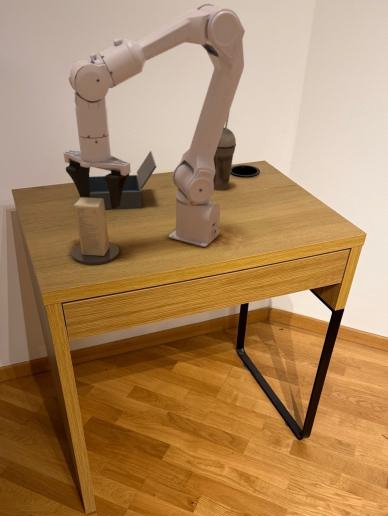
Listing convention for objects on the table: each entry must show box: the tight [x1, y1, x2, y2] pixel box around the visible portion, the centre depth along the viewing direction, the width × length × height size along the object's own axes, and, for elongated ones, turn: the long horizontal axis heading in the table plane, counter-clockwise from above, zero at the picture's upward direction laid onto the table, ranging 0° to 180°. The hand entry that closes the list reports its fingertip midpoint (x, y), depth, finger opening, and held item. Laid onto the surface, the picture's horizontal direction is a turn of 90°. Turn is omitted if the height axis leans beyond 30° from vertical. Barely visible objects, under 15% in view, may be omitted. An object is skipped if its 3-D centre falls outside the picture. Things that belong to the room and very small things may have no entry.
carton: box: [89, 174, 143, 211], centre depth 127 cm, size 14×12×4 cm
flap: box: [136, 150, 157, 190], centre depth 125 cm, size 7×12×1 cm
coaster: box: [71, 241, 120, 266], centre depth 106 cm, size 10×10×1 cm
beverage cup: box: [213, 111, 237, 191], centre depth 132 cm, size 7×7×20 cm
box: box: [73, 197, 110, 256], centre depth 102 cm, size 5×4×11 cm
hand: (100, 202), depth 102 cm, fingers open, 7 cm apart
